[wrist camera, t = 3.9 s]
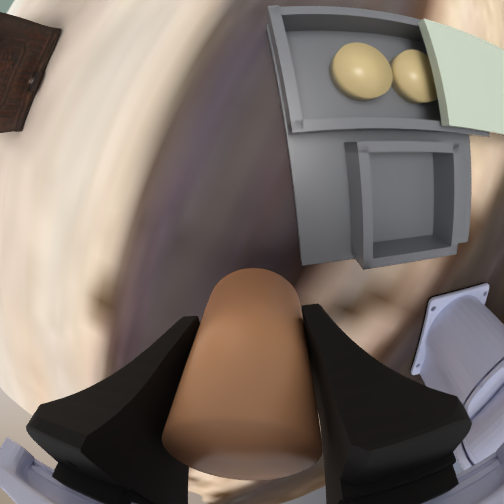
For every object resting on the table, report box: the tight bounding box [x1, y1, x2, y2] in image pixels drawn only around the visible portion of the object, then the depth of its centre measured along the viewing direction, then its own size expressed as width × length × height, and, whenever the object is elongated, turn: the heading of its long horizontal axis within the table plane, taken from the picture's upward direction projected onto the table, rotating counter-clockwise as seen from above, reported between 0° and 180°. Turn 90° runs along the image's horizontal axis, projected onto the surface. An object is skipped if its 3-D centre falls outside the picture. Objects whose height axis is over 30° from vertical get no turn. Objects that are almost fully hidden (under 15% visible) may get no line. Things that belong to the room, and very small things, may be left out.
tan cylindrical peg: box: [162, 268, 323, 480], centre depth 8 cm, size 4×4×7 cm
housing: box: [266, 5, 489, 269], centre depth 13 cm, size 16×14×4 cm
